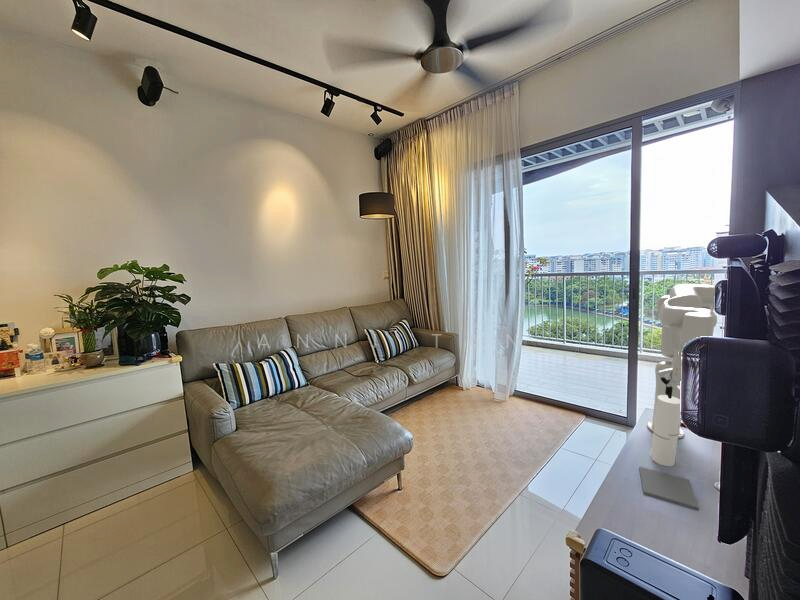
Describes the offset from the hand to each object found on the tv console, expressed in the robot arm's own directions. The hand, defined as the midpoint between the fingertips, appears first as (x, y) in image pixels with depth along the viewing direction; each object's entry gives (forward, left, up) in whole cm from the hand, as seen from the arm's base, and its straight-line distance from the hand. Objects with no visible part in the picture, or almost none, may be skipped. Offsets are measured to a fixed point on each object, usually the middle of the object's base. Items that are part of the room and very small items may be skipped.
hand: (687, 399), depth 109 cm
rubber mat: (+5, -4, -31) cm, 31 cm away
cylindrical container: (-12, -3, -31) cm, 33 cm away
